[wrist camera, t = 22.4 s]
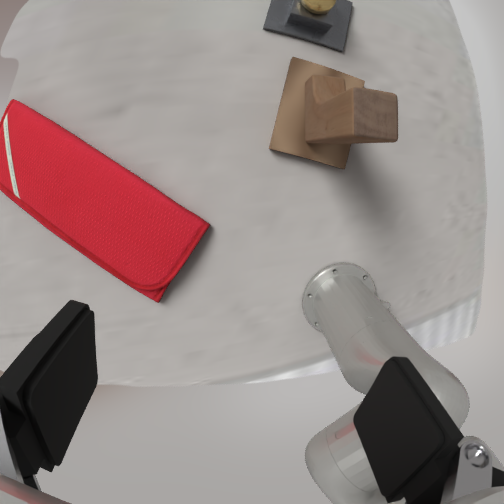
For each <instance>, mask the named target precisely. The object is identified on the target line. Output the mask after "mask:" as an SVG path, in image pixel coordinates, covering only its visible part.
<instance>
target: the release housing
mask: <svg viewBox="0 0 504 504" xmlns="http://www.w3.org/2000/svg"><path fill="white" fill-rule="evenodd" d="M351 8H352V2H350V1H347V0H336V3H335V5H334V6H333V7H332V9H331V10H330V11H329V12H327V13H325V14H315V13H312V12H310V11H308V10H307V9H306V8H305V7H304V6H303V5H302V2H301V0H271V4H270V7H269V10H268V14H267V17H266V21H265V24H264V28H263V29H265V30H269V31H273V32H277V33H281V34H285V35H289V36H293V37H296V38H300V39H303V40H307V41H310V42H313V43H316V44H319V45H322V46H325V47H328V48H331V49H334V50H337V51H340V52H342V51H343V48H344V44H345V39H346V34H347V29H348V23H349V18H350V13H351Z"/></svg>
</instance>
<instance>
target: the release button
mask: <svg viewBox="0 0 504 504" xmlns="http://www.w3.org/2000/svg"><path fill="white" fill-rule="evenodd" d="M301 2H302V5H303V6H304V7H305V8H306V9H307V10H308V11H310V12H312V13H315V14H325V13H327V12H329V11H330V10H331V9H332V7H333V6H334V5H335V3H336V0H301Z"/></svg>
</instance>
